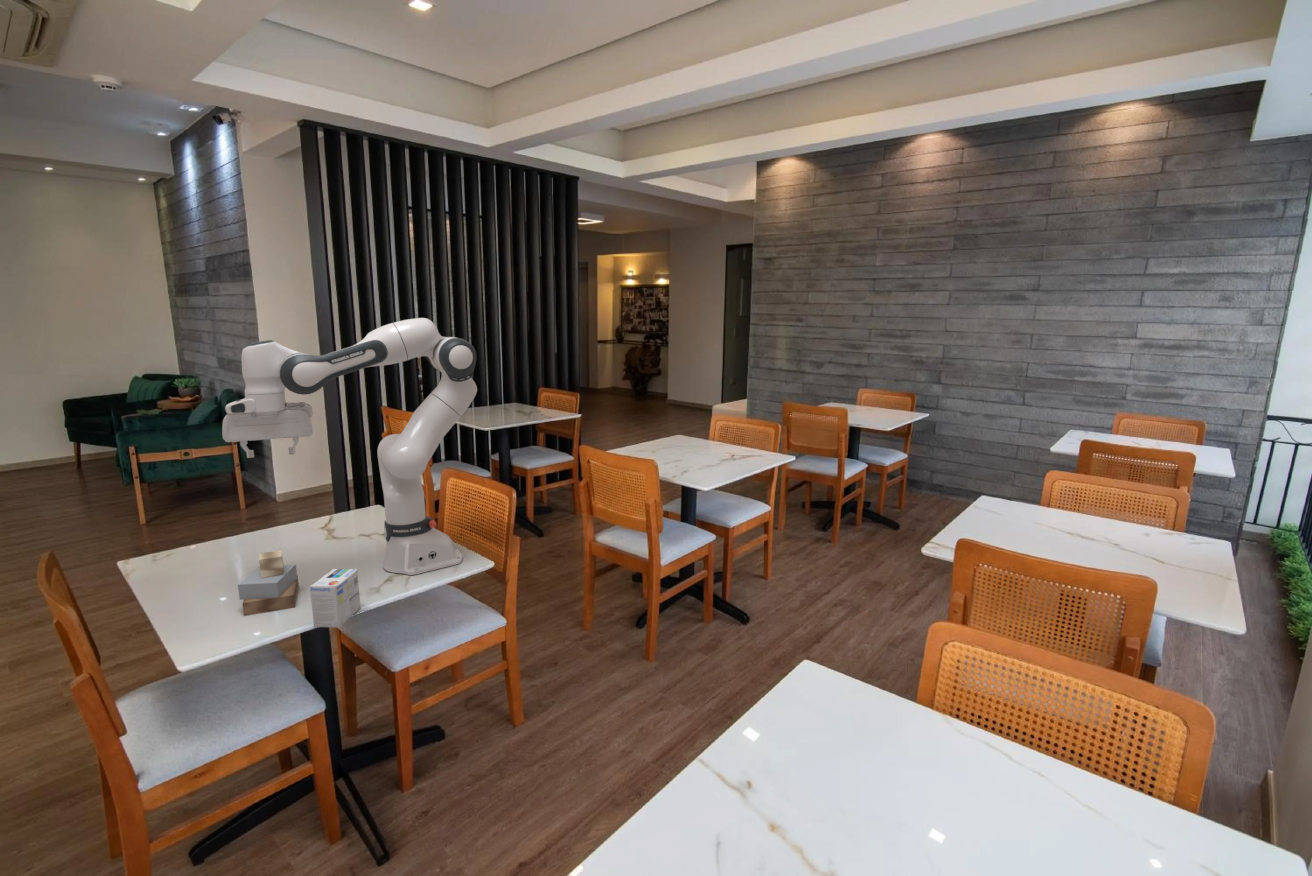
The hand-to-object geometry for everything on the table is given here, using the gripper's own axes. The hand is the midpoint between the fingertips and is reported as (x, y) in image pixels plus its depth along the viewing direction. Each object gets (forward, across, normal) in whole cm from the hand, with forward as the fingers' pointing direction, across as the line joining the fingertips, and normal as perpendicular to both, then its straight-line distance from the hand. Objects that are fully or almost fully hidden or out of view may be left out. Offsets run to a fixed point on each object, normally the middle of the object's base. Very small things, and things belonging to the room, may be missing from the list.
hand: (271, 455), depth 166 cm
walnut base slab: (+38, +3, +8) cm, 39 cm away
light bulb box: (+37, -12, +26) cm, 47 cm away
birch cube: (+30, +2, +8) cm, 31 cm away
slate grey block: (+34, +3, +8) cm, 35 cm away
